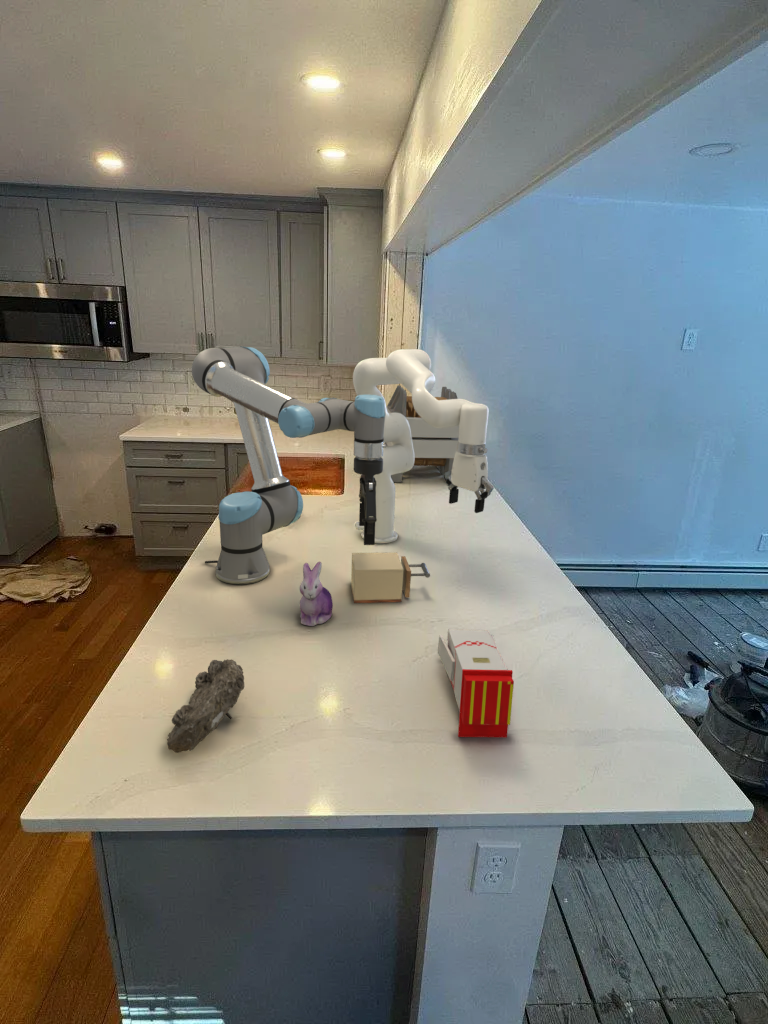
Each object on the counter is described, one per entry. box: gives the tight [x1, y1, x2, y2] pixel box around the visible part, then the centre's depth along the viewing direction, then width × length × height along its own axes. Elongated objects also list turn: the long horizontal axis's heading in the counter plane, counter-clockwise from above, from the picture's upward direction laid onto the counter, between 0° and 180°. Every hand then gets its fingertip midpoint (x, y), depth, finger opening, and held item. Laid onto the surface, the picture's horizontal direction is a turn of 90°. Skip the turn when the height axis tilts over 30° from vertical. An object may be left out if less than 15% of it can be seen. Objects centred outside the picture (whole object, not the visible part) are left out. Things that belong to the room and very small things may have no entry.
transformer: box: [384, 384, 459, 483], centre depth 268 cm, size 34×33×41 cm
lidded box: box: [350, 551, 403, 604], centre depth 156 cm, size 13×11×10 cm
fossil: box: [166, 658, 245, 754], centre depth 106 cm, size 22×10×15 cm
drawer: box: [400, 555, 431, 599], centre depth 157 cm, size 17×10×8 cm, turn 97°
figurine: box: [299, 561, 334, 627], centre depth 141 cm, size 9×10×15 cm
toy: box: [437, 628, 515, 738], centre depth 117 cm, size 12×13×30 cm
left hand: (366, 534), depth 151 cm, fingers open, 13 cm apart
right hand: (465, 507), depth 162 cm, fingers open, 9 cm apart
